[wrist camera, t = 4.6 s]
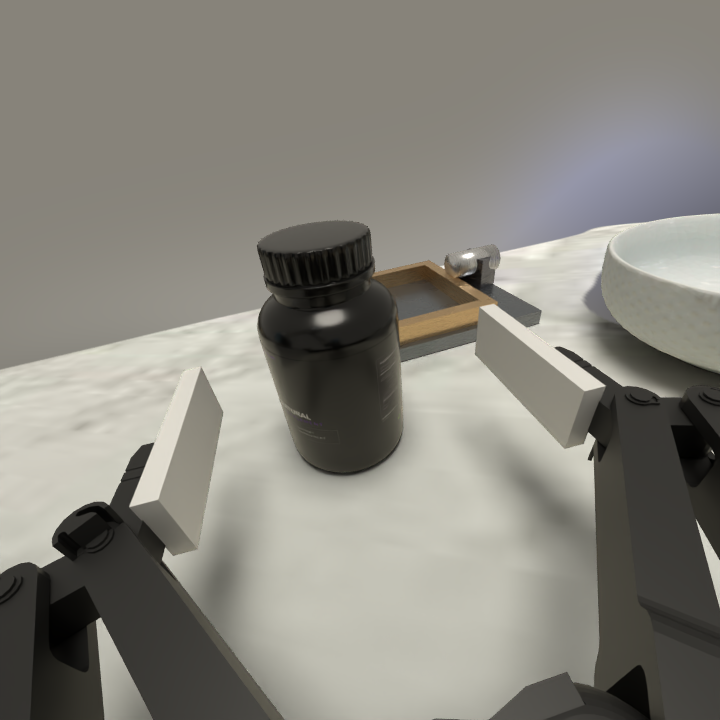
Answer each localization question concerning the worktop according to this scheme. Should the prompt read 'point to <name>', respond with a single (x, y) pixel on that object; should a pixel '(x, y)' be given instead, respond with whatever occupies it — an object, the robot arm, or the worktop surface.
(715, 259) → the cereal bowl
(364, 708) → the worktop surface
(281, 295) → the supplement bottle
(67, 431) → the worktop surface
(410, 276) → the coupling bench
